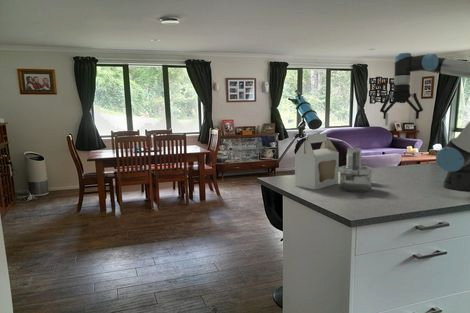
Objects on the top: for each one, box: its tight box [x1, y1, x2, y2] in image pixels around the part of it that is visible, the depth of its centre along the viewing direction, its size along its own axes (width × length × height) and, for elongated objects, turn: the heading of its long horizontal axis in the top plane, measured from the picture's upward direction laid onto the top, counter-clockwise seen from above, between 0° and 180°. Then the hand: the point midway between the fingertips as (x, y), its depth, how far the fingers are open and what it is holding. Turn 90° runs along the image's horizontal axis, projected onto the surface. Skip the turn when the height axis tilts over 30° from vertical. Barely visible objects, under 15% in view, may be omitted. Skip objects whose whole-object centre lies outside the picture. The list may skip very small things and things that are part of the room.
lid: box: [347, 151, 366, 170], centre depth 175 cm, size 10×10×10 cm
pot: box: [338, 165, 374, 193], centre depth 173 cm, size 16×22×11 cm
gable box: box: [294, 132, 340, 191], centre depth 187 cm, size 22×13×28 cm, turn 131°
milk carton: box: [346, 147, 363, 166], centre depth 194 cm, size 7×7×19 cm
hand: (400, 125), depth 180 cm, fingers open, 13 cm apart
